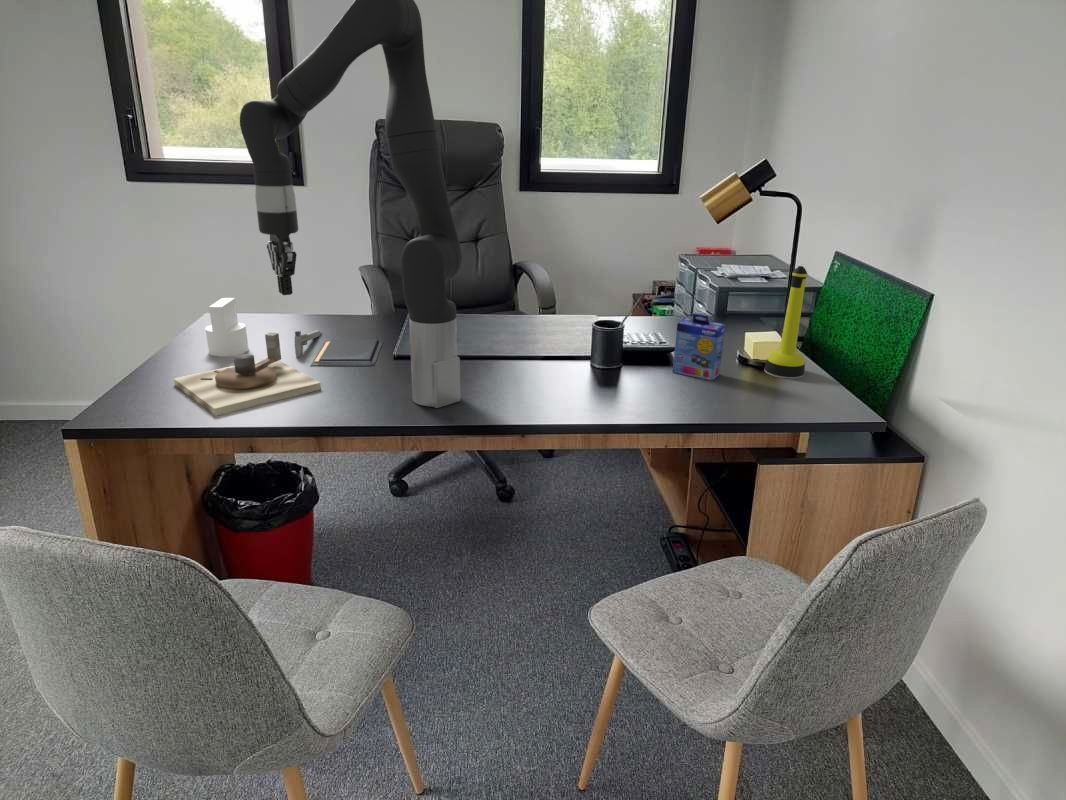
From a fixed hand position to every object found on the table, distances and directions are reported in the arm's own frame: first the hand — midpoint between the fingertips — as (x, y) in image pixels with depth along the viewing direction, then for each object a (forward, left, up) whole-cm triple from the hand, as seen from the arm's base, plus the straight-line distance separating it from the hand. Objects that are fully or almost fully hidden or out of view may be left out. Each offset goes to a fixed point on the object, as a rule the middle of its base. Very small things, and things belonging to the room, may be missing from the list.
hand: (285, 293), depth 150 cm
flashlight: (-68, -88, -19) cm, 113 cm away
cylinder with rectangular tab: (+29, +3, -19) cm, 35 cm away
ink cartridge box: (-55, -71, -19) cm, 92 cm away
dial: (+3, +8, -17) cm, 19 cm away
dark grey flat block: (+9, -18, -20) cm, 28 cm away
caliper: (+21, -14, -20) cm, 32 cm away
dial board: (+2, +10, -19) cm, 21 cm away
